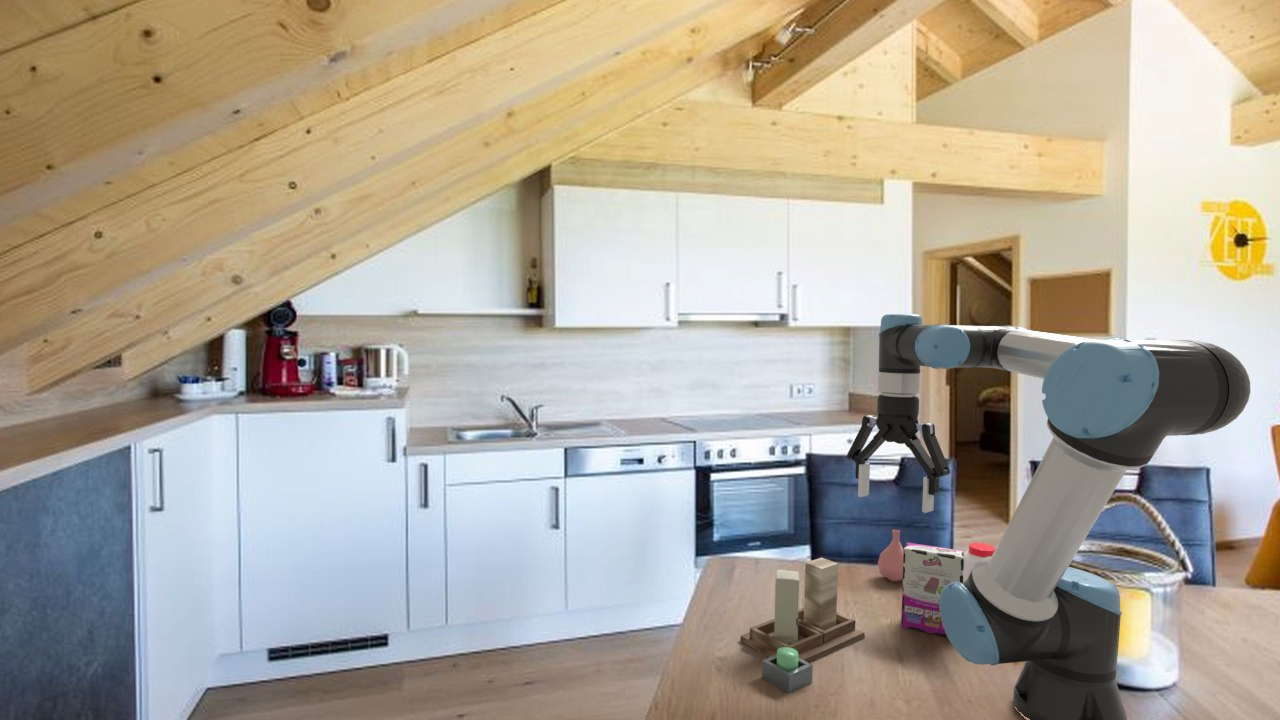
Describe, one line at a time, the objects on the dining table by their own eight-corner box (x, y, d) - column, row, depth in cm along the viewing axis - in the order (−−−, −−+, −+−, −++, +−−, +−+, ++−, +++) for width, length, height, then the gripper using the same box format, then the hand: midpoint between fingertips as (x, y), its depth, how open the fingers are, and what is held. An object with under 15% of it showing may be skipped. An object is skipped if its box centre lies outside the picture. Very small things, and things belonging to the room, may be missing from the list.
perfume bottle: (879, 584, 158) (881, 534, 157) (875, 572, 165) (877, 524, 165) (914, 587, 156) (916, 537, 156) (908, 575, 164) (910, 527, 163)
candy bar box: (962, 630, 135) (966, 550, 134) (961, 640, 131) (965, 557, 130) (902, 617, 140) (906, 540, 139) (900, 627, 136) (903, 547, 135)
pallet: (864, 637, 131) (867, 567, 130) (793, 669, 119) (796, 592, 118) (810, 613, 142) (813, 548, 141) (740, 640, 129) (742, 569, 128)
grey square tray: (812, 681, 115) (812, 664, 115) (788, 693, 111) (789, 675, 111) (784, 667, 119) (785, 650, 119) (761, 677, 116) (762, 660, 116)
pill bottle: (953, 590, 155) (955, 543, 155) (976, 584, 159) (979, 539, 158) (983, 603, 148) (985, 554, 148) (1006, 597, 152) (1009, 549, 151)
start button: (802, 676, 115) (802, 653, 115) (788, 682, 113) (788, 659, 112) (785, 667, 118) (786, 645, 118) (771, 673, 116) (772, 651, 115)
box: (797, 649, 124) (799, 581, 123) (773, 646, 125) (775, 578, 124) (797, 636, 129) (799, 570, 128) (774, 633, 130) (776, 568, 129)
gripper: (972, 399, 122) (967, 515, 123) (853, 388, 141) (850, 487, 143) (952, 402, 117) (947, 522, 118) (831, 389, 137) (828, 492, 138)
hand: (894, 503), depth 130 cm, fingers open, 13 cm apart
